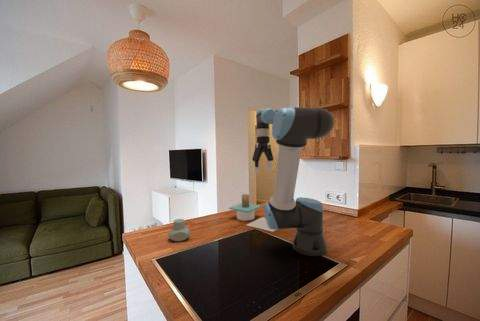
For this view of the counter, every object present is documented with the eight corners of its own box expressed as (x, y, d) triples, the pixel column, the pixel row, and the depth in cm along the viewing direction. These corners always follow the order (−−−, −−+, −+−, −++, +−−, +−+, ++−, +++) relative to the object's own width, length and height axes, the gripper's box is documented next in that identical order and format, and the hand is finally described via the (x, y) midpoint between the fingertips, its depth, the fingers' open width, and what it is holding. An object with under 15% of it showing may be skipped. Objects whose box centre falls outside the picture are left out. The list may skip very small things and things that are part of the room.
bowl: (247, 222, 138) (247, 211, 137) (233, 219, 145) (233, 208, 145) (257, 217, 147) (257, 207, 147) (244, 214, 155) (243, 205, 154)
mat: (272, 232, 120) (272, 231, 120) (245, 225, 132) (245, 224, 132) (287, 223, 135) (287, 222, 135) (262, 217, 147) (262, 217, 147)
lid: (248, 212, 135) (248, 198, 134) (229, 209, 145) (228, 195, 144) (261, 207, 147) (261, 194, 147) (243, 204, 157) (243, 191, 157)
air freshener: (168, 243, 108) (167, 224, 108) (169, 237, 116) (168, 219, 115) (190, 240, 111) (190, 221, 110) (189, 234, 119) (189, 217, 118)
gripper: (267, 138, 140) (268, 170, 140) (245, 135, 120) (246, 173, 120) (278, 137, 135) (278, 170, 136) (257, 134, 115) (257, 173, 116)
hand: (263, 172), depth 128 cm, fingers open, 13 cm apart
